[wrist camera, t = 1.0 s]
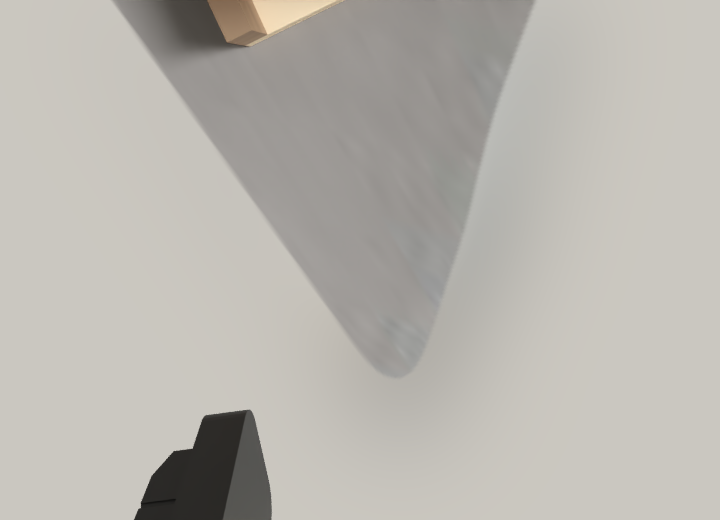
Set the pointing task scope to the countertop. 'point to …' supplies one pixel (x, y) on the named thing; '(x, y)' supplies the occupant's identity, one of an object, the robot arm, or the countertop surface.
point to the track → (262, 17)
